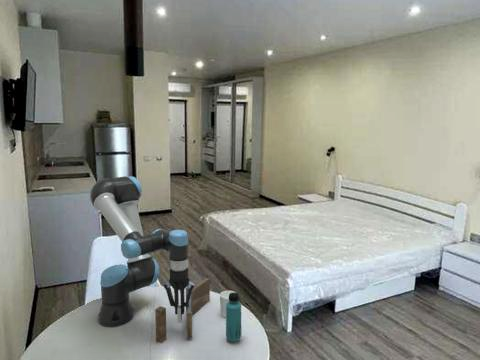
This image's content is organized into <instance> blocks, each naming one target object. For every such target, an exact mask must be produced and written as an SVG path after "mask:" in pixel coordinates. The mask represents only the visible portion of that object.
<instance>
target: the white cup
mask: <svg viewBox="0 0 480 360" xmlns="http://www.w3.org/2000/svg"><path fill="white" fill-rule="evenodd" d="M230 293H237V292H236V291H233V290H224V291H221V292H220V293H219V304H220V315H221V317H223V318H225V319H226V304H227V303H228V302H229V294H230Z"/></svg>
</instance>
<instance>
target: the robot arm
mask: <svg viewBox="0 0 480 360" xmlns="http://www.w3.org/2000/svg"><path fill="white" fill-rule="evenodd" d="M142 192H143V189H142V185H141V183H140V181H139V180H138V179H137V178H136V177H135V176H127V175H126V176H119V177H118V176H117V177H109V178H102V179H100V180H98V181H96V182H95V183H94V185H93V186H92V187H91V190H90V194H89V195H90V196H89V199H90V202H91V204H92V206H93V207H94V209H95V210H97V211H99V212H100V213H101V214H102V215H103V217H104V218H105V220H106V222H107V223H108V224H109V226H110V227H111V228H112V230H113V231H114V233H115V234H116V236H117V237H118V238H119V239H120V241H121V244H120V250H121V252H122V256H123V257H124V258H125V259H127V261H126V264H121V263H120V264H114V265H111V266H109V267H107V268H106V269H104V270H103V271H102V273H101V274H100V292H101V305H100V309H99V310H100V311H99V313H98V323H99V324H100V325H101V326H102V327H107V328H108V327H109V328H110V327H111V328H113V327H119V326H123V325H125V324H127V323H129V322H130V321H131V320H132V319H133V318H134V316H135V313H134V311H135V310H134V308H133V306H132V303H131V300H130V293H131V292H134V291H137V290H141V289H143V288H145V287H149V286H151V285H153V284H155V283H156V282H157V281H158V279H159V278H160V266H159V262H157V260H156V259H154V258H153V257H152V255H151V253H152V254H153V253H155V252H159V251H162V250H165V251H166V252H168V253H169V279H168V281H167V282H164V284H163V288H164V290H165V291H166V294H167V299H168V301H169V305H170V307H173V308H174V314H175V315H176V316H177V323H178V324H181V323H182V320H183V315H184V314H185V308H186V307H187V306H188V304H189V300H190V296H191V292H192V289H193V288H194V287H195V286H196V284H195V282H191V280H190V278H189V268H188V267H189V238H188V237H189V236H188V232H187V231H186V230H183V229H175V230H174V229H173V230H171V231H169V230H166V229H162V228H157V229H155V230H154V231H153V232H152V233H150V234H145V235H144V232H143V227H142V223H141V218H140V214H139V209H138V204H139V203H140V198H141V197H142V194H143V193H142ZM171 287H172V288H173V292H172V288H171ZM186 287H189V291H188V295H187V299H186V294H185V291H186ZM173 293H174V294H173ZM179 293H180V297H179ZM179 299H180V301H179Z"/></svg>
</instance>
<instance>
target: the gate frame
mask: <svg viewBox="0 0 480 360" xmlns="http://www.w3.org/2000/svg"><path fill="white" fill-rule="evenodd" d="M210 282H211V280H210V278H209V277H206V278H204V279H203V280H202V281H201V282H199V283H198V284H197V285H196V284H195V286H194V288H193V289H192V292H191V312H192V318H193V316H194V315H195V314H196V313H197V312H199V311H200V310H201V309H202V308H203V307H204V306H206V305H207V304H208V303H209V302H210V300H211V297H210V296H211V293H210V291H211V288H210V287H211V286H210V285H211V283H210ZM188 291H189V286H187V287H186V288H185V300H186V299H187V294H188ZM186 312H187V307H185V313H186ZM154 313H155V314H154V316H155V317H154V319H155V342H157V343H159V344H163V343H164V342H166V340H167V338H168V337H167V336H168V335H167V308H166V307H164V306H162V305H159V306H158V307H157V308H155V310H154Z"/></svg>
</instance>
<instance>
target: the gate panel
mask: <svg viewBox="0 0 480 360" xmlns="http://www.w3.org/2000/svg"><path fill="white" fill-rule="evenodd" d="M187 295H188V294H187ZM185 318H186V319H185V322H186V323H185V324H186V325H185V326H186V327H185V328H186V332H185V335H186V339H193V317H192V312H191V296H190V300H189V304H188V306H187V312H186V311H185Z"/></svg>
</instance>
